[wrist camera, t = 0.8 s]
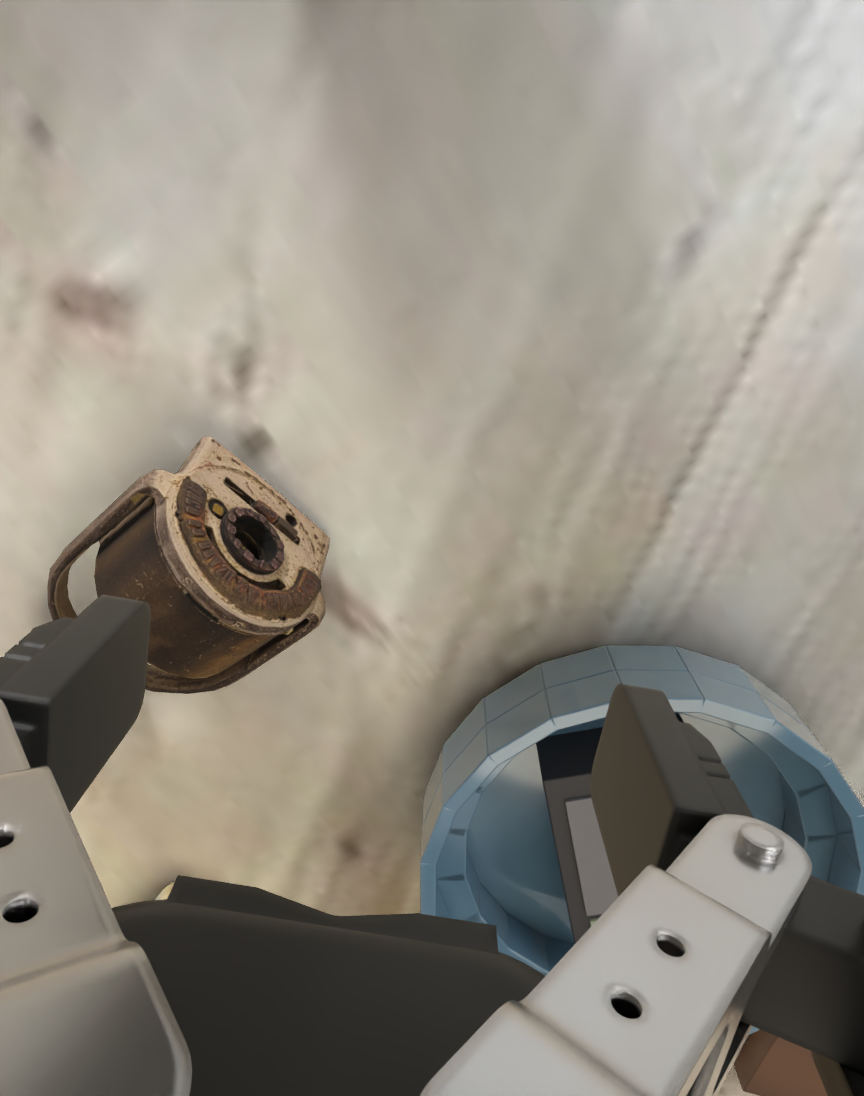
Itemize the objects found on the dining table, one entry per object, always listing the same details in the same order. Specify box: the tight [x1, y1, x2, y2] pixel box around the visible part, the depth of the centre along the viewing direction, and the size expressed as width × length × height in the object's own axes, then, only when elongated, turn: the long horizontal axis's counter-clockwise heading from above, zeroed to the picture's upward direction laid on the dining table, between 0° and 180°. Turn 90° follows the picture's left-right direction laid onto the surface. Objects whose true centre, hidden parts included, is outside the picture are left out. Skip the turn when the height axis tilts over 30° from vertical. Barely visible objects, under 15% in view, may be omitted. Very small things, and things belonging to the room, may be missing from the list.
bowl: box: [420, 645, 864, 1035], centre depth 34 cm, size 17×17×5 cm
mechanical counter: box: [32, 437, 330, 694], centre depth 30 cm, size 7×13×10 cm
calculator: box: [536, 715, 684, 944], centre depth 34 cm, size 10×6×3 cm, turn 12°
